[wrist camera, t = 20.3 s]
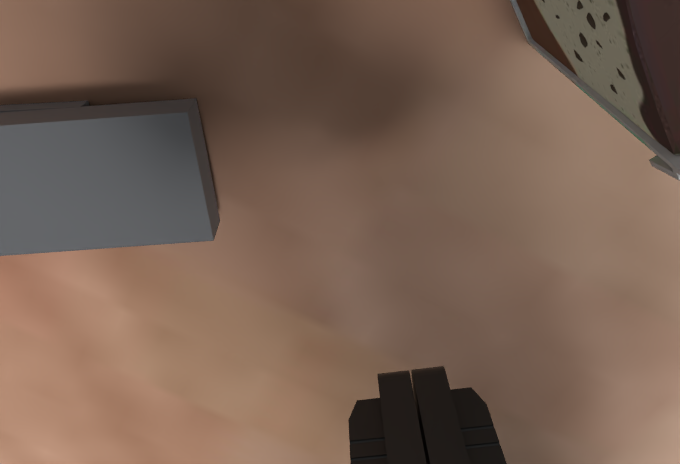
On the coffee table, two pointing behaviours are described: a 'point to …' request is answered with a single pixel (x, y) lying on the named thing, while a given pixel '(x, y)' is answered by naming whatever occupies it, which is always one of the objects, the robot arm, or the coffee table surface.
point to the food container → (617, 61)
